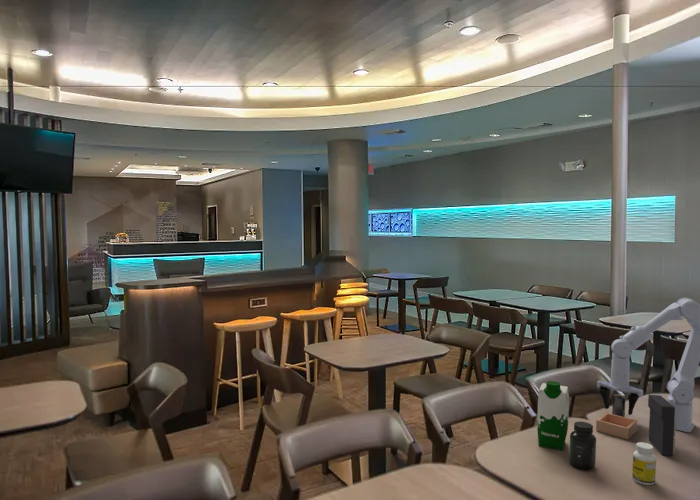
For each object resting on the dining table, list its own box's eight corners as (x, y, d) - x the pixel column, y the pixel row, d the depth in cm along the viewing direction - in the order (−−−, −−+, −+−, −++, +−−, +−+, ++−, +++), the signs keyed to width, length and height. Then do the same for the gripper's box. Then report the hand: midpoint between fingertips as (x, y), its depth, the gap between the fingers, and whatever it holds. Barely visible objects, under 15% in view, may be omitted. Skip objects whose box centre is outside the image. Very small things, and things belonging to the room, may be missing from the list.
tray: (605, 422, 178) (606, 412, 178) (637, 430, 171) (637, 420, 171) (596, 430, 171) (596, 420, 171) (628, 439, 164) (628, 428, 164)
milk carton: (535, 446, 158) (537, 383, 157) (539, 435, 166) (541, 375, 165) (565, 452, 154) (567, 387, 153) (568, 441, 162) (570, 379, 161)
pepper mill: (614, 415, 185) (615, 392, 184) (626, 418, 182) (627, 394, 181) (610, 418, 182) (611, 394, 181) (622, 421, 179) (623, 397, 178)
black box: (675, 456, 152) (678, 407, 151) (659, 455, 153) (662, 406, 152) (661, 441, 163) (663, 395, 162) (646, 440, 164) (648, 394, 163)
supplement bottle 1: (564, 464, 147) (565, 423, 146) (576, 457, 151) (578, 418, 150) (587, 473, 141) (589, 431, 141) (599, 466, 145) (601, 425, 145)
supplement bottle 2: (627, 476, 140) (629, 441, 140) (646, 475, 141) (647, 440, 140) (640, 486, 135) (642, 450, 134) (659, 485, 135) (661, 449, 135)
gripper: (594, 371, 183) (593, 408, 184) (639, 380, 173) (637, 419, 174) (601, 367, 188) (599, 403, 189) (645, 376, 178) (643, 414, 179)
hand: (618, 411), depth 182 cm, fingers open, 7 cm apart
